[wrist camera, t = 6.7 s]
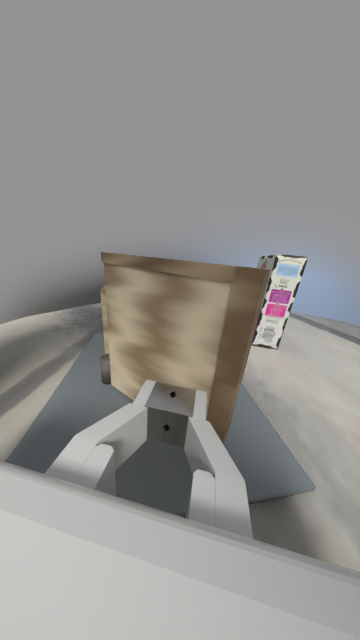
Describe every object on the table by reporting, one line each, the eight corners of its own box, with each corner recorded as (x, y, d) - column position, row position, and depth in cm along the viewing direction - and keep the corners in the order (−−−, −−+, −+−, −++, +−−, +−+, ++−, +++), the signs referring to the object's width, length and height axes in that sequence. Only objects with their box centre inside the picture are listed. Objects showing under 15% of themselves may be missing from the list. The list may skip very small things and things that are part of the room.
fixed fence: (116, 383, 19) (112, 289, 16) (99, 385, 19) (90, 288, 15) (125, 335, 31) (124, 274, 27) (115, 335, 31) (112, 273, 27)
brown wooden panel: (108, 386, 19) (99, 252, 14) (122, 377, 20) (118, 253, 15) (217, 462, 12) (266, 269, 8) (225, 442, 14) (270, 269, 9)
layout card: (313, 490, 12) (316, 486, 12) (-57, 561, 8) (-61, 556, 8) (205, 335, 35) (206, 333, 35) (95, 334, 31) (95, 331, 31)
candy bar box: (279, 350, 32) (310, 256, 26) (251, 346, 32) (276, 253, 27) (263, 328, 42) (283, 257, 37) (242, 325, 43) (258, 255, 37)
